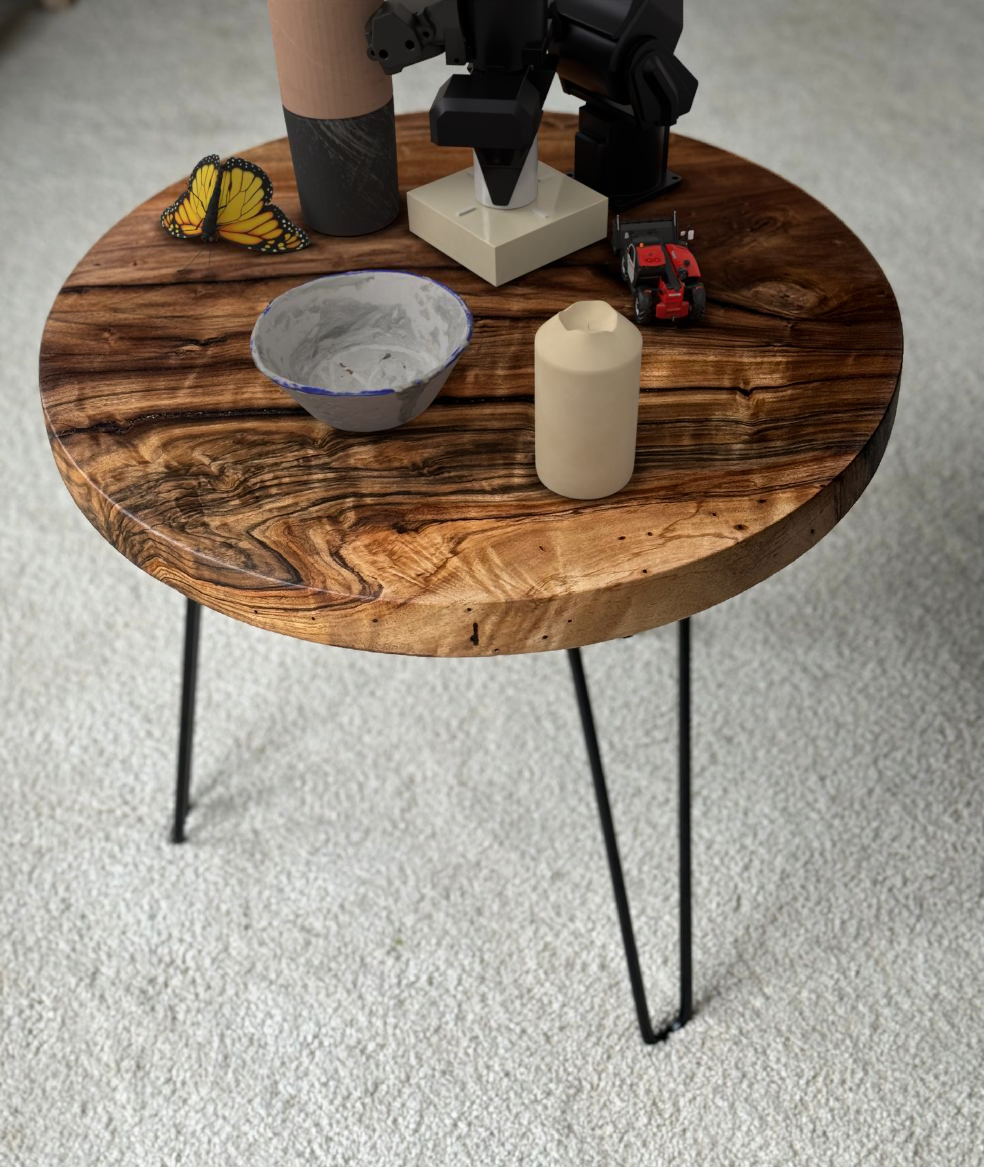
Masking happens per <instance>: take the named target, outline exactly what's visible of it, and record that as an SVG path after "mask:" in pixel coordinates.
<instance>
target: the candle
mask: <svg viewBox="0 0 984 1167" xmlns="http://www.w3.org/2000/svg"><path fill="white" fill-rule="evenodd" d="M643 342H644V341H643V336H642V333H641V331H640V330H639V329H638V328H637V326H636V325H635V324H634V323H633V322H632V321H630V320H629V319H628V318H627V317H625V316H624V315H623V314H621V313H620V312H619V311H617V310H616V309H614V307H612V306H611V305H610V304H609V303H608V302H606V301H604V300H579V301H576V302H574V303H572V304H571V305H570V306H568V307H567V308H565V309H564V310H561V311H558V313H557V314H555V315H553V316H552V317H550V319H548V320H546V321H545V322H544V323H543V324H542V325H541V326H540V327H538V329H537V331H536V334H535V336H534V438H535V439H534V447H535V448H534V451H535V452H534V453H535V470H536V474H537V476H538V478H539V480H540V482H541V483H542V484H543V485H544V486H545V487H546V488H547V489H549V490H550V491H552V492H553V493H555V494H558V495H560V496H563V497H566V498H570V499H576V500H596V499H601V498H605V497H609V496H611V495H613V494H615V493H618V492H619V491H620V490H622V489H623V488H624V487H625V486H627V485H628V483H629V482H630V481H631V478H632V476H633V472H634V468H635V458H636V445H637V430H638V415H639V403H640V402H639V399H640V388H641V386H640V385H641V370H642V357H643Z"/></svg>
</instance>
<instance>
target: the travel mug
mask: <svg viewBox="0 0 984 1167" xmlns="http://www.w3.org/2000/svg"><path fill="white" fill-rule="evenodd" d="M384 1H386V0H266V2H267V8H268V15H269V22H270V29H271V36H272V44H273V50H274V57H275V58H274V59H275V66H276V72H277V79H278V86H279V93H280V100H281V105H282V113H283V117H284V123H285V128H286V134H287V140H288V145H289V150H290V155H291V162H292V168H293V173H294V179H295V183H296V189H297V194H298V200H299V205H300V211H301V214H302V218H303V220H304V222H305V224H306V225H307V226H308V227H309V228H310V229H312V230H313V231H316V232H318V233H321V234H324V235H328V236H337V237H353V236H362V235H366V234H371V233H374V232H378V231H379V230H382V229H384V228H386V227H387V226H389V225H390V224H391V223H393V222H394V221H395V220H396V218H397V217H398V215H399V213H400V187H399V186H400V185H399V169H398V168H399V167H398V166H399V165H398V151H397V150H398V149H397V133H396V115H395V114H396V113H395V96H394V84H393V75H386V74H385V73H384V71H383V69H382V66H381V65H380V64H379V62H378V61H372V60H371V59H369V58H368V56H367V49H368V42H367V39H366V36H365V32H366V30H365V25H366V23H367V21H368V20H369V18H370V16H371V15H372V14H373V13H374V12H376V11H377V10H378V9H379V8H380V6H381V5H382V4H383V2H384Z"/></svg>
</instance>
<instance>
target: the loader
mask: <svg viewBox="0 0 984 1167" xmlns="http://www.w3.org/2000/svg"><path fill="white" fill-rule="evenodd" d="M612 231H613V232H612V236H611V237H610V239H609V243H610V245H611V249H612V252H613V255H614V256H616V255H619V269H620V276H621V279H622V282H627V284H628V286H629V289H630V292H631V296H632V297H633V302H632V304H633V315H634V319H635V323H636V324H637V325H646V324H649V323H651V320H652V315H653V314H652V313H653V310H652V309H655V313H656V314H655V317H656V318H658V319H664V320H665V319H669V320H670V321H672V322H675V321H676V319H677V318H678V319H679V318H683V317H686V316H687V317H688V319H689V320H690V321H698V320H702V319H703V318H704V317H705V311H706V290H705V286H704V284H703V282H701V281H700V279H701V277H702V276H701V271H700V269H699V265H698V261H697V260H696V258H695V256H694V255H693V253H692V252H691V251H689V247H688V243H689V242H690V241H691V240H694V237H695V236H694V234H695V230H694V229H692V225H691V224H690V223H688V224H687V230H681V231H680V234H679V220H678V216H677V211H676V210H673V211H672V215H671V216H669V215H668V216H667V217H666V218H664V216H655V217H654V218H652V217H644V218H641V219H640V218H631V219H624V221H623V219H620V215H619V214H616V216H615V220H613V222H612ZM679 235H680V236H679ZM683 236H684V237H683ZM679 237H682V238H681V239H679ZM683 240H686V241H683ZM684 295H685V296H684ZM657 297H658V298H657ZM653 301H656V302H653Z"/></svg>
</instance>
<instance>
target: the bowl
mask: <svg viewBox="0 0 984 1167" xmlns="http://www.w3.org/2000/svg"><path fill="white" fill-rule="evenodd" d="M474 330H475V321H474V315H473V312H472V309H471V308H470V307H469V305H468V304H467V302H466V301H465V300H464V298H462V296H461V295H460V294H459V293H458V292H456V290H454V289H452V288H451V287H450V286H448V285H445V284H443V283H442V282H440V281H437V280H434V279H432V278H430V277H428V276H423V275H420V274H417V273H413V271H412V272H410V271H408V270H406V269H403V270H392V269H377V270H376V269H374V270H373V269H363V270H356V271H355V270H352V271H347V272H343V273H335V274H330V275H325V276H324V275H323V276H319V277H318V278H314V279H311V280H309V281H307V282H303V283H302V284H300V285H298V286H294V287H293V288H290V289H288V290H287V291H285V292H284V293H282V294H281V295H279V296H276V297H274V298H273V299H271V301H269V302H268V304H267V305H266V307H265V309H264V310H263V311H261V313H260V314H259V317H258V318H257V320H256V322H255V324H254V326H253V328H252V332H251V335H250V341H249V346H250V354H251V358H252V360H253V363H254V364H255V367H256V368H257V370H258V371H259V372H261V374H263V376H264V377H265V378H267V379H268V380H269V381H271V382H272V383H273V384H275V385H277V386H278V387H279V388H280V389H281V390H282V391H284V392H285V393H286V394H288V395H289V396H290V398H292V399H293V400H294V401H295V402H296V403H297V404H299V405H300V406H301V407H302V408H303V409H304V410H306V411H307V412H308V413H309V414H310V415H311V416H312V417H314V418H315V419H317V420H318V421H319V422H321V423H322V424H324V425H327V426H330V427H332V428H335V429H338V430H341V431H347V432H355V433H356V432H357V433H358V432H359V433H370V432H378V431H383V430H385V431H386V430H389V429H394V428H396V427H400V426H402V425H405V424H406V423H409V422H411V421H413V420H414V419H416V418H418V417H419V416H420V415H422V414H423V413H424V412H425V411H426V410H427V409H428V408H429V407H430V405H431V404H432V403H433V401H434V400H435V399H436V397H437V396H438V394H439V393H440V391H441V390H442V388H443V387H444V385H445V383H446V382H447V380H448V379H449V377H450V375H451V373H452V371H453V370H454V369H455V366H456V364H457V363H458V361H459V360H460V358H461V357H462V355H463V353H466V352H468V351H469V349H470V342H471V340H472V337H473V334H474Z"/></svg>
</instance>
